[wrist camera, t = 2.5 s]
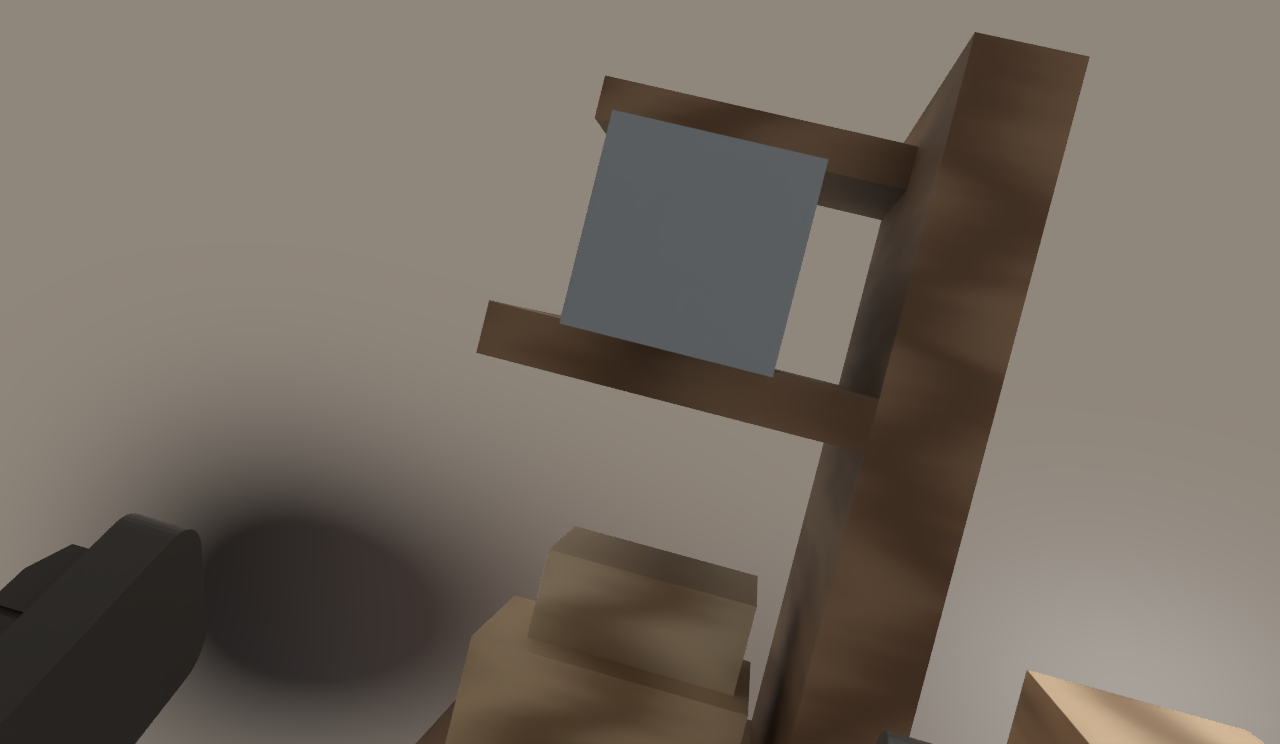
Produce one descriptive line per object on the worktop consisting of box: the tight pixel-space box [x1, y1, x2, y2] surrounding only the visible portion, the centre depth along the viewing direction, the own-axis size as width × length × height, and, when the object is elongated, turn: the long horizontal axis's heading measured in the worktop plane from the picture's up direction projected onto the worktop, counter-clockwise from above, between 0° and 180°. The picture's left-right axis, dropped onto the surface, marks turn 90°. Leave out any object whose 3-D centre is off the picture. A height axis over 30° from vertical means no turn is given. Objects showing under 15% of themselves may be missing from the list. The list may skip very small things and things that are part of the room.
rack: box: [416, 32, 1089, 744], centre depth 38 cm, size 14×16×40 cm
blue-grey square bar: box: [560, 110, 829, 377], centre depth 32 cm, size 4×25×4 cm, turn 174°
